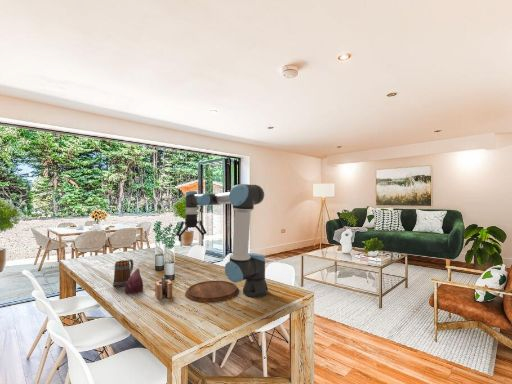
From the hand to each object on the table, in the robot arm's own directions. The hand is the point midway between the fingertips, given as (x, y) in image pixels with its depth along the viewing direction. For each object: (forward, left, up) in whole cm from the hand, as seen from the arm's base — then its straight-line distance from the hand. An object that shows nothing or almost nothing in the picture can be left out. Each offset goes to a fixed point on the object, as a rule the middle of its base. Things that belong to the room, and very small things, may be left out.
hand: (191, 245), depth 180 cm
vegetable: (+2, +35, -25) cm, 43 cm away
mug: (+21, +39, -25) cm, 51 cm away
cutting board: (-24, -6, -26) cm, 36 cm away
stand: (-16, +21, -25) cm, 36 cm away
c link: (-16, +21, -25) cm, 36 cm away
